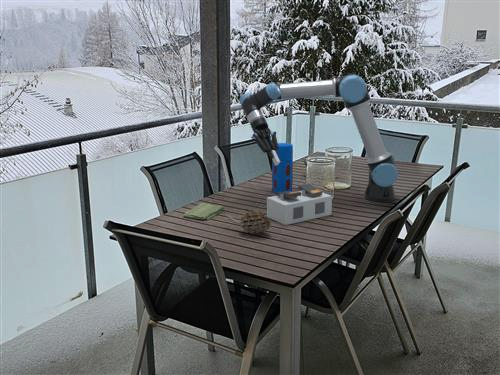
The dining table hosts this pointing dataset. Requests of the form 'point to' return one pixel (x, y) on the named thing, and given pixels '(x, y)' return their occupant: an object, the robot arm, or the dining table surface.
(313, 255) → the dining table surface
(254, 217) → the pine cone
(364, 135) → the robot arm
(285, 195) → the outer rocker
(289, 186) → the thermos
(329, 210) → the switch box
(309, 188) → the inner rocker
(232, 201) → the dining table surface
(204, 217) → the washcloth
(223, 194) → the dining table surface
